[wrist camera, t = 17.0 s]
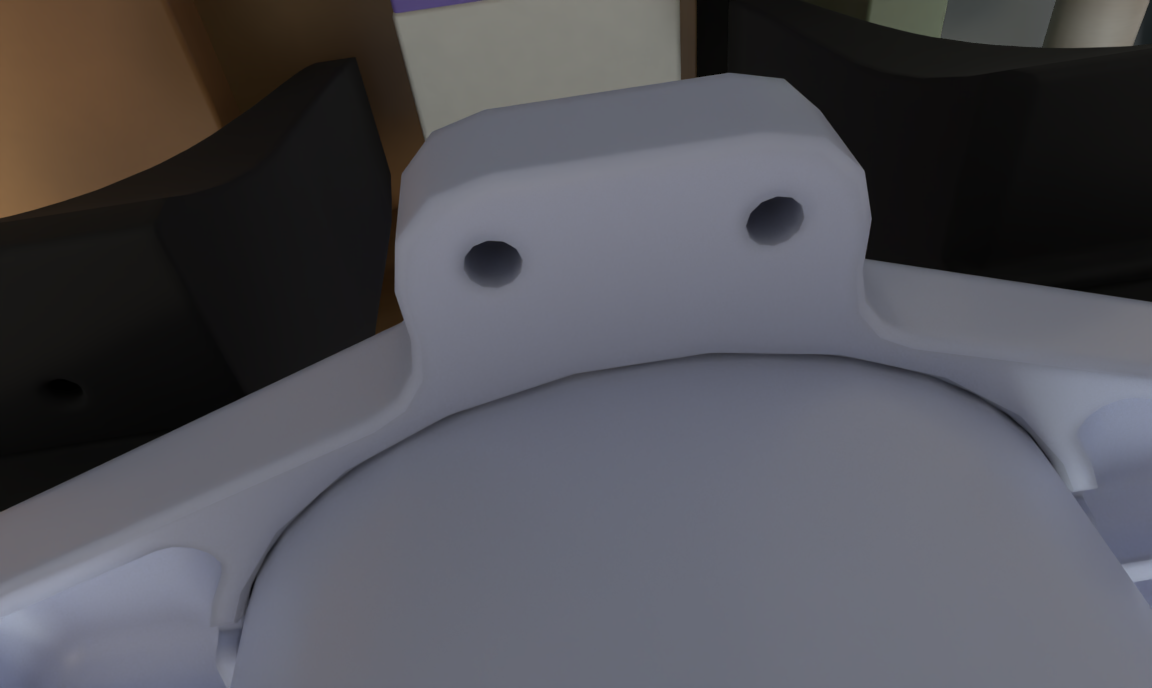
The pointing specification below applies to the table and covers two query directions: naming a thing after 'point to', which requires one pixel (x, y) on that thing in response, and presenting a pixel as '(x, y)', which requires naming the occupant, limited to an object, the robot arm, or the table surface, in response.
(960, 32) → the table surface
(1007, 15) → the table surface
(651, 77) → the purple block cream band
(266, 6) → the drawer
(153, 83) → the cabinet
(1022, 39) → the table surface
